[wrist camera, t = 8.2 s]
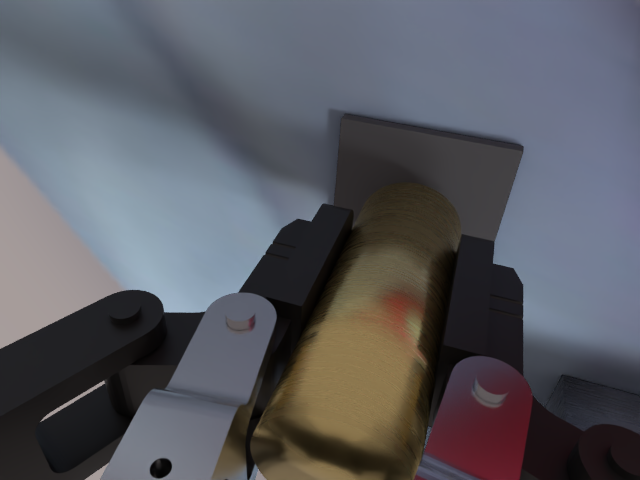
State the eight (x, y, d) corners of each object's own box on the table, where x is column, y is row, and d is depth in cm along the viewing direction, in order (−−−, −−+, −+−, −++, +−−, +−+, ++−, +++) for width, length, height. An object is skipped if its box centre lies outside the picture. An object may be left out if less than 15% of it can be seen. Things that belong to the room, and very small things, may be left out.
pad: (523, 146, 12) (523, 151, 12) (478, 286, 15) (478, 292, 15) (344, 114, 13) (341, 118, 13) (332, 250, 16) (329, 256, 16)
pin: (472, 195, 12) (430, 453, 7) (449, 278, 14) (400, 543, 8) (365, 173, 13) (248, 395, 7) (355, 255, 14) (251, 489, 9)
